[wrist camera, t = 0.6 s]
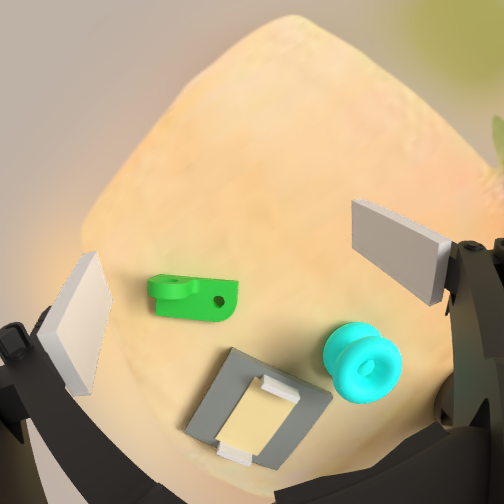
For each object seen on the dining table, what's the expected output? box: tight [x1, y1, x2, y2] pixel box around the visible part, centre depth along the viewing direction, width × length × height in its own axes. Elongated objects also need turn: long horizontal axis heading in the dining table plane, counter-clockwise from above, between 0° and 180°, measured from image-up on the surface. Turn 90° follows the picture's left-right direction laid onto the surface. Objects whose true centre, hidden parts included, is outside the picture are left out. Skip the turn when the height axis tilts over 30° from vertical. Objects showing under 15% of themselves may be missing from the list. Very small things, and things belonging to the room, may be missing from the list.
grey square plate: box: [184, 347, 333, 470], centre depth 45 cm, size 18×18×5 cm
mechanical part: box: [148, 274, 239, 322], centre depth 43 cm, size 12×6×8 cm, turn 86°
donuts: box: [323, 322, 402, 404], centre depth 42 cm, size 10×10×10 cm
